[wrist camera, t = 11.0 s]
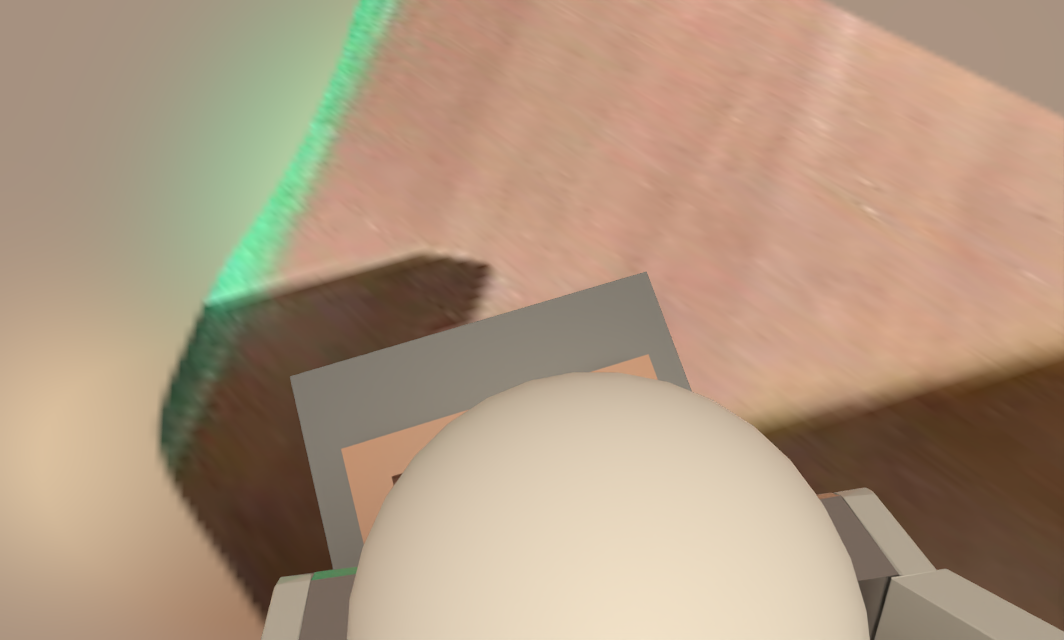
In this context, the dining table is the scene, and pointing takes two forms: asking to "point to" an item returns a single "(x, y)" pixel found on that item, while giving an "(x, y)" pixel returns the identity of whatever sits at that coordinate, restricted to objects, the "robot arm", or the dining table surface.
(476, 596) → the lightbulb
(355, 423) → the board
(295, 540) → the dining table surface
